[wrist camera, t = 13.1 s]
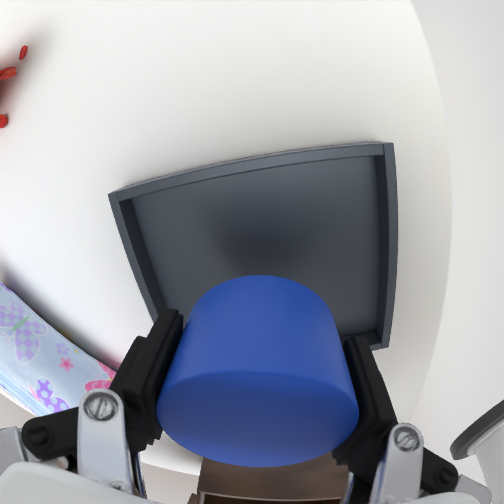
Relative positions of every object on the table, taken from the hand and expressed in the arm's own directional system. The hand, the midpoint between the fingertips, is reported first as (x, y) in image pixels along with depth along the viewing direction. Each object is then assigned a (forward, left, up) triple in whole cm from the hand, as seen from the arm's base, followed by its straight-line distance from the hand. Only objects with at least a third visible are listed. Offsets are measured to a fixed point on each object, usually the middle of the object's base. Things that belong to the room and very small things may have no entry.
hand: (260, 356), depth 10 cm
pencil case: (+21, +6, -8) cm, 23 cm away
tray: (0, 0, -8) cm, 8 cm away
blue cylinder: (0, 0, -1) cm, 1 cm away
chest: (+3, +28, -8) cm, 29 cm away
